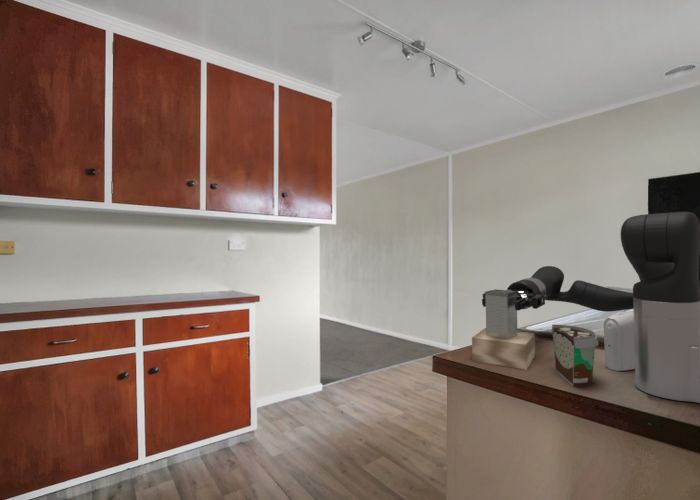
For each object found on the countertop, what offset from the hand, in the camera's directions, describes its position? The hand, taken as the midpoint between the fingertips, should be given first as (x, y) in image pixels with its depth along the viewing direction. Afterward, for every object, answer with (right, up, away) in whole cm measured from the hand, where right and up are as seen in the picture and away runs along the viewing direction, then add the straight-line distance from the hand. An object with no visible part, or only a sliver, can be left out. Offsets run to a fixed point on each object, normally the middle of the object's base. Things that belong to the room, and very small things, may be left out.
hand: (499, 304), depth 85 cm
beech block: (+2, -14, +1) cm, 14 cm away
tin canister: (+1, -8, +1) cm, 8 cm away
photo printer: (+26, -13, -7) cm, 30 cm away
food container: (+11, -14, -13) cm, 22 cm away
